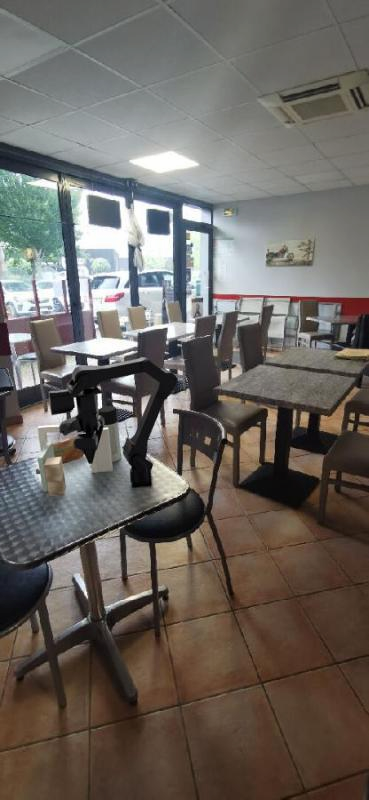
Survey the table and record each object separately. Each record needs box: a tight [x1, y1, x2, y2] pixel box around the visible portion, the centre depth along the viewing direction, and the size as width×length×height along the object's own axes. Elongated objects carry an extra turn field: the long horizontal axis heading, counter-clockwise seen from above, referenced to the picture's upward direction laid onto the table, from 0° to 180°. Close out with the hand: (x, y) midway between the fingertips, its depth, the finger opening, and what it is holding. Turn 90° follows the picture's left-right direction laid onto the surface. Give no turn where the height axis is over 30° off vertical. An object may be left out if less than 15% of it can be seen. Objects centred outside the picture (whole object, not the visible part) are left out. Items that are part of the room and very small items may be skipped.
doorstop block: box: [44, 457, 67, 497], centre depth 127 cm, size 4×5×11 cm
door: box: [35, 441, 54, 492], centre depth 132 cm, size 12×3×12 cm, turn 3°
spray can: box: [98, 405, 122, 463], centre depth 146 cm, size 7×7×20 cm
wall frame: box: [37, 424, 114, 474], centre depth 137 cm, size 23×2×18 cm, turn 93°
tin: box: [52, 436, 85, 465], centre depth 148 cm, size 15×3×8 cm, turn 132°
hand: (93, 456), depth 122 cm, fingers open, 9 cm apart
